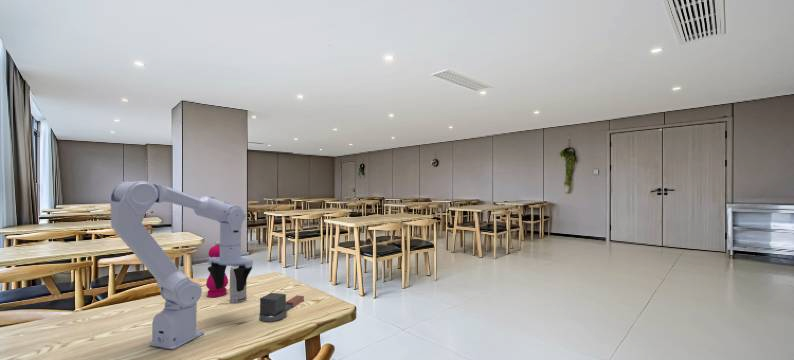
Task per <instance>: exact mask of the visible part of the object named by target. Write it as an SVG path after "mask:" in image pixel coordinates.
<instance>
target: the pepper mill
mask: <svg viewBox="0 0 794 360" xmlns="http://www.w3.org/2000/svg"><path fill="white" fill-rule="evenodd" d="M214 244H215V245H213V246H211V247H210V248H209V249H208V252H207V253H208V256H209V258H212V257H220V240H217V241H216V242H215V243H214ZM228 284H229V279H228V275H227V274H226V273H225V274H224V285H223V288H220V289H216V287H215V283H214V280H213V277H212V275H211V273H210V272H209V275H208V276H207V279H206V283H205V285H206V288H207V289H208V291H207V295H206V296H207V297H209V298H220V297H223V296H225V295H226V294H227V291H228V290H227V288H226V287H227V286H228Z"/></svg>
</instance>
